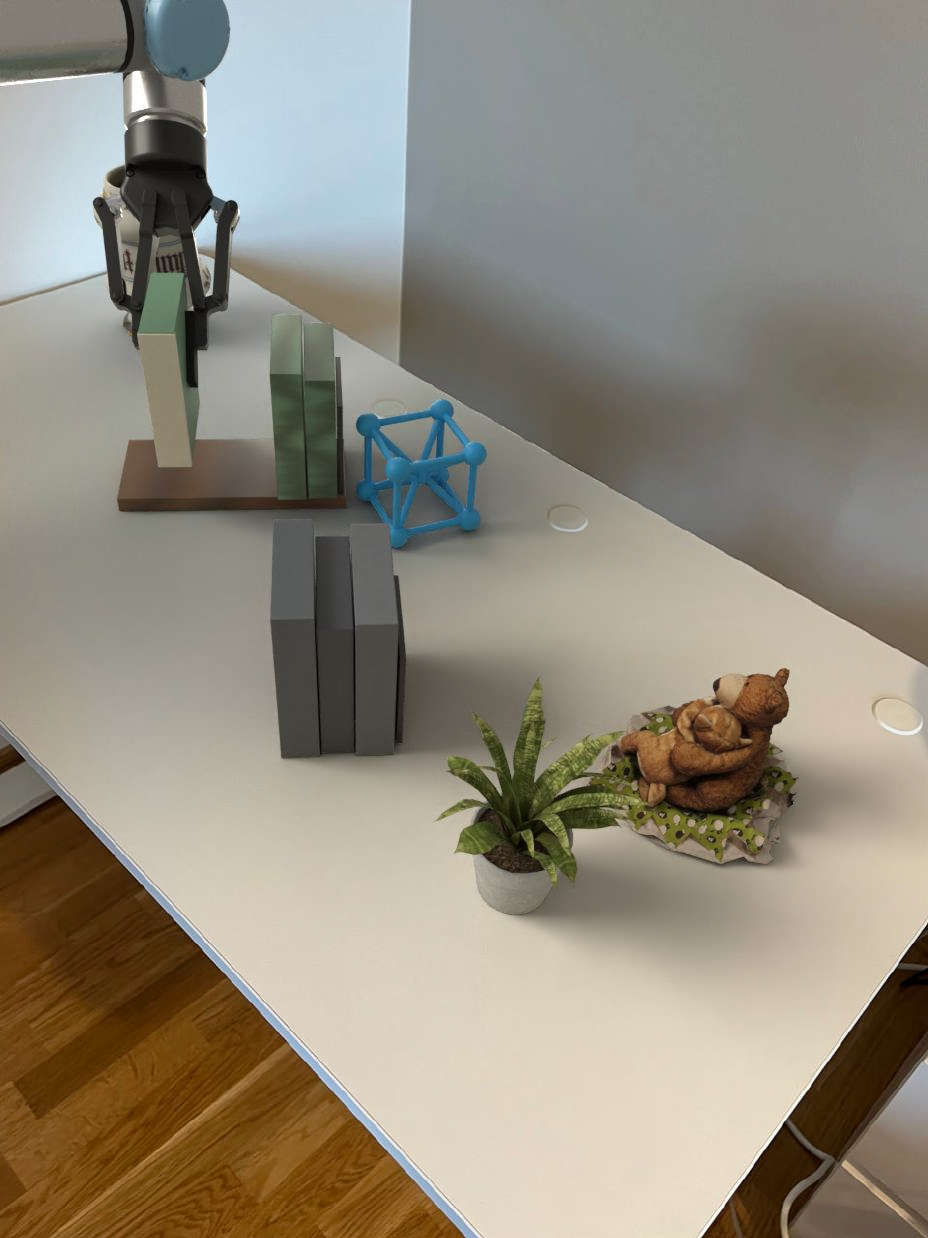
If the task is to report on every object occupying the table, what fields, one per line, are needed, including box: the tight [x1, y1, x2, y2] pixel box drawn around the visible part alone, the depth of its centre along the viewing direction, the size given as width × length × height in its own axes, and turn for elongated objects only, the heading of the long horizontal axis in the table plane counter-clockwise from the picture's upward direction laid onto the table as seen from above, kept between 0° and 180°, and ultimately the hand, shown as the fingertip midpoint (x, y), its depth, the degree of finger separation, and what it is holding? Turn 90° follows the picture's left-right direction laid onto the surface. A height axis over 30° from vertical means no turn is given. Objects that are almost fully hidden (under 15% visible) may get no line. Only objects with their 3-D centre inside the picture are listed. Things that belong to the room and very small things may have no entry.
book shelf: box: [116, 313, 348, 512], centre depth 103 cm, size 22×11×16 cm, turn 96°
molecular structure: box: [355, 398, 488, 549], centre depth 103 cm, size 10×10×10 cm
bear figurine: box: [587, 667, 799, 865], centre depth 80 cm, size 14×15×12 cm
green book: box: [137, 273, 201, 467], centre depth 99 cm, size 3×11×14 cm, turn 6°
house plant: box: [433, 676, 653, 916], centre depth 70 cm, size 14×14×16 cm
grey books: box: [269, 518, 407, 759], centre depth 83 cm, size 10×11×15 cm
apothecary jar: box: [93, 163, 212, 337], centre depth 124 cm, size 12×12×18 cm
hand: (172, 383), depth 100 cm, fingers closed on green book, 3 cm apart
